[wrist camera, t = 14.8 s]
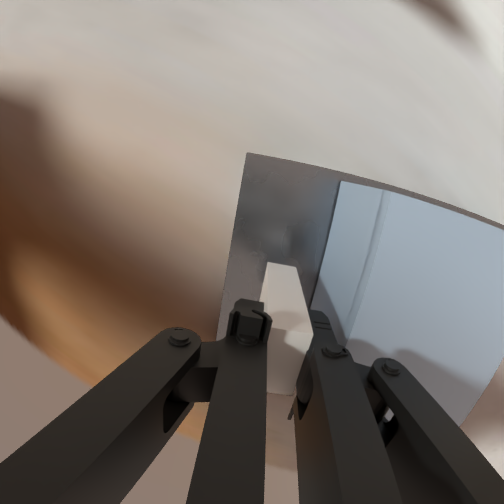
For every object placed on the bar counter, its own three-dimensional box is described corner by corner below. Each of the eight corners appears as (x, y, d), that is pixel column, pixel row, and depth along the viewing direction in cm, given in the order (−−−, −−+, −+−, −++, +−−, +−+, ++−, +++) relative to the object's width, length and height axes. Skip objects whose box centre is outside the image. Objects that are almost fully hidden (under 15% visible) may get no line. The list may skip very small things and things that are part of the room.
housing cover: (293, 363, 19) (301, 444, 12) (341, 180, 16) (391, 191, 9) (416, 372, 19) (453, 435, 12) (473, 220, 16) (545, 248, 9)
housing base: (217, 342, 21) (206, 381, 16) (248, 153, 17) (242, 148, 13) (445, 365, 21) (468, 396, 17) (498, 224, 17) (535, 237, 13)
